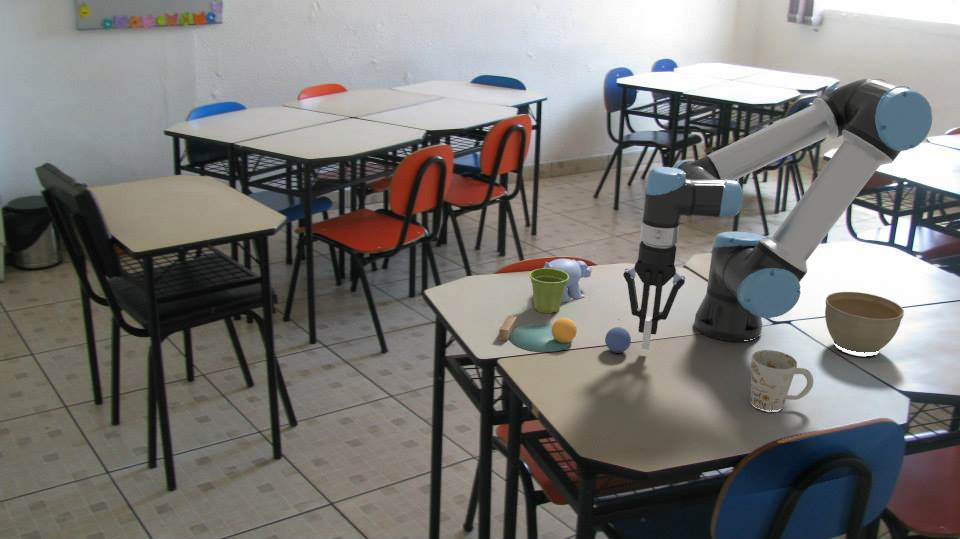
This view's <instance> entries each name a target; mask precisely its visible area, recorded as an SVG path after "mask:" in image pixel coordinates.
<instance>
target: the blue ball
mask: <svg viewBox="0 0 960 539" xmlns="http://www.w3.org/2000/svg"><path fill="white" fill-rule="evenodd" d="M604 338H605V340H604V341H605V346H606V348H607V349H608V350H610V352H613V353H615V354H616V353H617V354H619V353H624V352H625V351H627V350H628V349H629V347H630V346H631V343H632V338H631V335H630V333H629V332H628V330H626V329H625V328H624V327H621V326H620V327H619V326H618V327H617V326H616V327H613V328H611V329H610V330H608V331H607V333H606V335H605V337H604Z"/></svg>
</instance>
